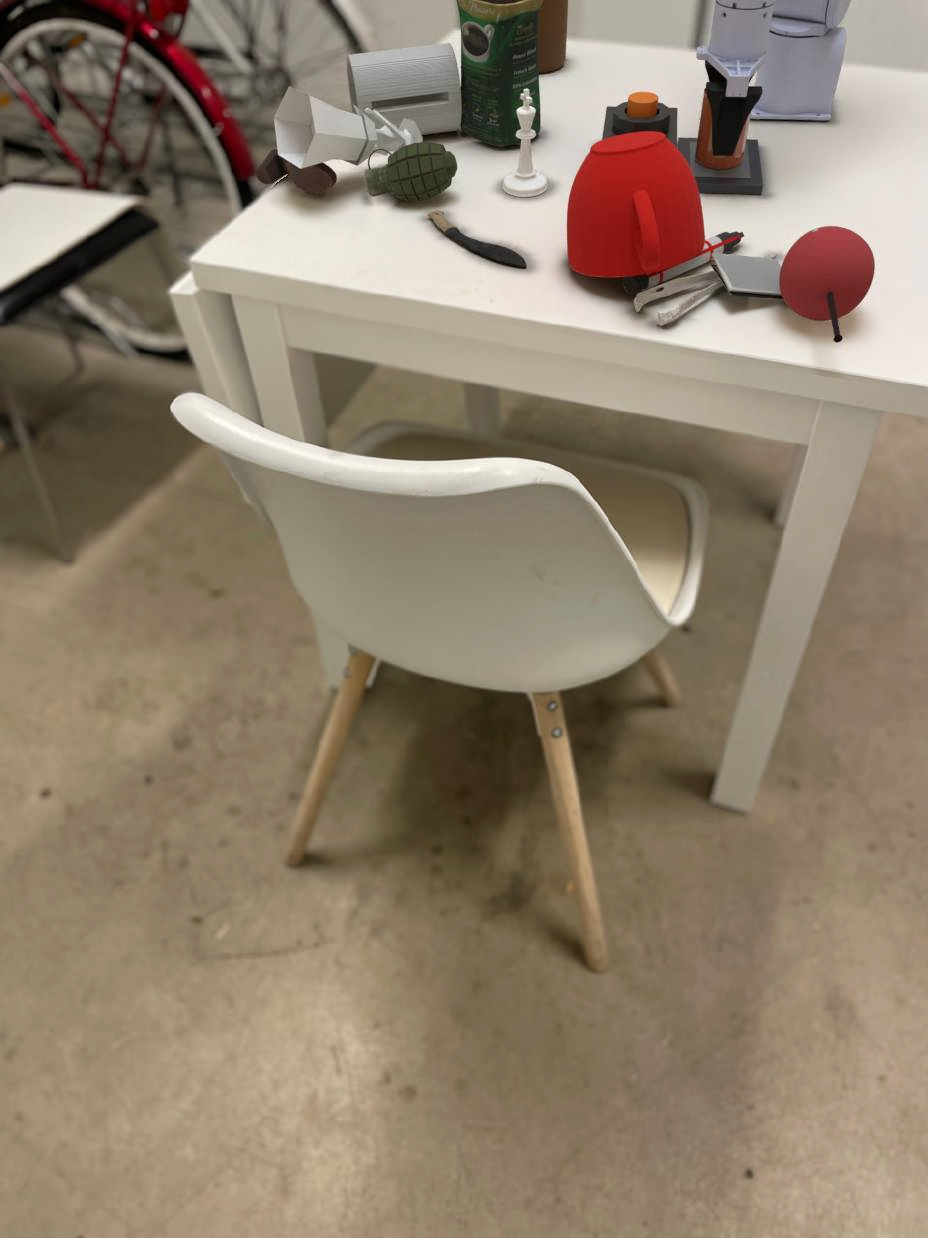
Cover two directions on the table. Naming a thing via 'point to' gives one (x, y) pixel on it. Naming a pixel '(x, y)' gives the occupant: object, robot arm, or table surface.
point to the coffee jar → (498, 67)
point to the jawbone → (678, 286)
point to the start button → (642, 105)
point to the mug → (552, 35)
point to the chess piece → (525, 157)
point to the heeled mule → (296, 173)
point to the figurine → (334, 132)
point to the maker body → (640, 122)
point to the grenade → (413, 172)
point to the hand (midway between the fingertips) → (721, 143)
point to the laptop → (748, 275)
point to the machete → (478, 243)
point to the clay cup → (705, 142)
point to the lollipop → (827, 274)
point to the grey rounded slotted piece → (408, 86)
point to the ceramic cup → (633, 208)
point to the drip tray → (726, 171)
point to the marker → (712, 245)
